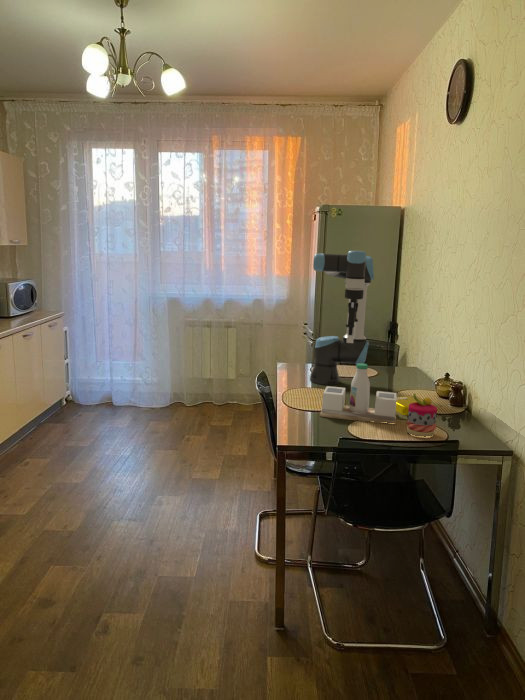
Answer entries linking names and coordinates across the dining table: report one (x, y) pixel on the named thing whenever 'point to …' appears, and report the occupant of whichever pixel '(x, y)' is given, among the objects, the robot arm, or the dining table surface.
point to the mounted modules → (336, 400)
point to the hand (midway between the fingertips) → (350, 339)
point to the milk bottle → (360, 390)
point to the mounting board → (357, 415)
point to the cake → (421, 417)
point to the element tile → (405, 404)
